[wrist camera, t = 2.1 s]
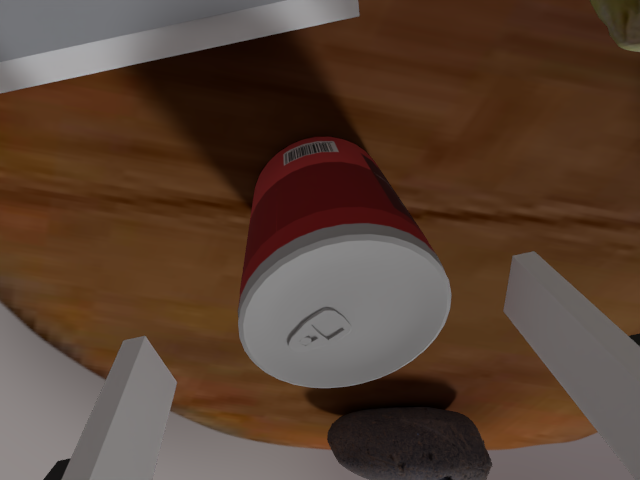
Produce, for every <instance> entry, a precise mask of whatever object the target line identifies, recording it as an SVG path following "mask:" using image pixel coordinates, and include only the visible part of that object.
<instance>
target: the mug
mask: <svg viewBox="0 0 640 480" xmlns="http://www.w3.org/2000/svg"><path fill="white" fill-rule="evenodd" d="M590 2H591V4H592V6H593V8H594V9H595V11H596V13H597V15H598V17H599V18H600V19H601V21H602V22H603V23H604V24H605V25H606V26H607V27H608V30H609V35H610V36H611V37H612V39H613V40H614V41H615V42H616V44H617V45H618V46H619V47H621V48H623V49H625V50H630V51H637V52H640V0H590Z"/></svg>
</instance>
